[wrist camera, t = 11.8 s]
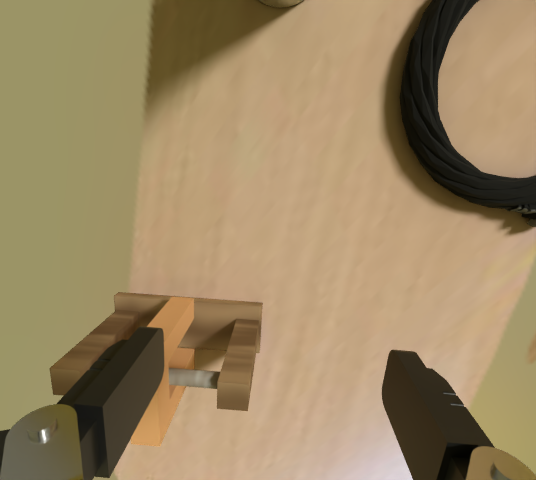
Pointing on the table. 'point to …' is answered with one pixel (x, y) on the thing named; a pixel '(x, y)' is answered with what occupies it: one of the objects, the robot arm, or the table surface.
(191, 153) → the table surface
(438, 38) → the cable lock
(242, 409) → the rail
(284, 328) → the table surface
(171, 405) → the orange block
